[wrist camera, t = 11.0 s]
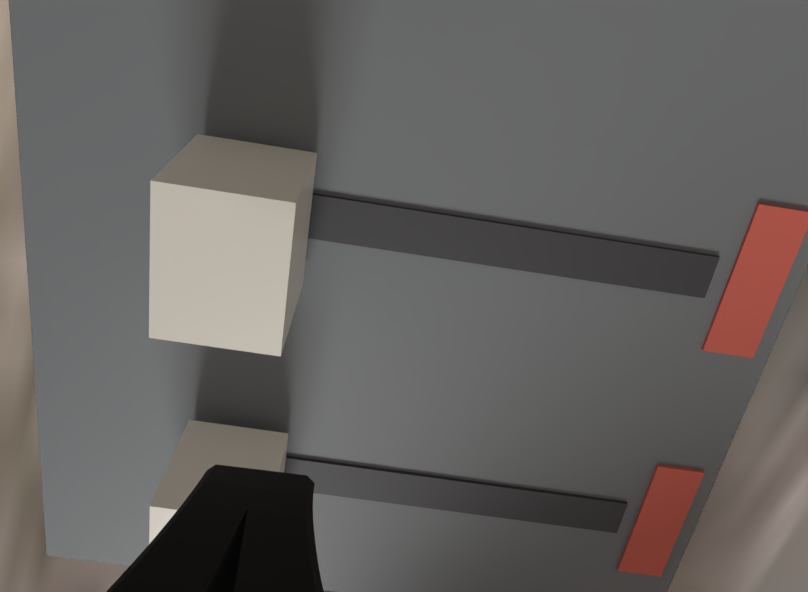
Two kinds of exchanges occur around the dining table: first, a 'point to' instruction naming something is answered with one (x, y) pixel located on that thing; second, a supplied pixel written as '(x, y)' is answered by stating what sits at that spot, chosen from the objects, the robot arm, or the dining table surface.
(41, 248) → the breaker panel
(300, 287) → the handle mid
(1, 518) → the dining table surface
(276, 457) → the handle
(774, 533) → the dining table surface
